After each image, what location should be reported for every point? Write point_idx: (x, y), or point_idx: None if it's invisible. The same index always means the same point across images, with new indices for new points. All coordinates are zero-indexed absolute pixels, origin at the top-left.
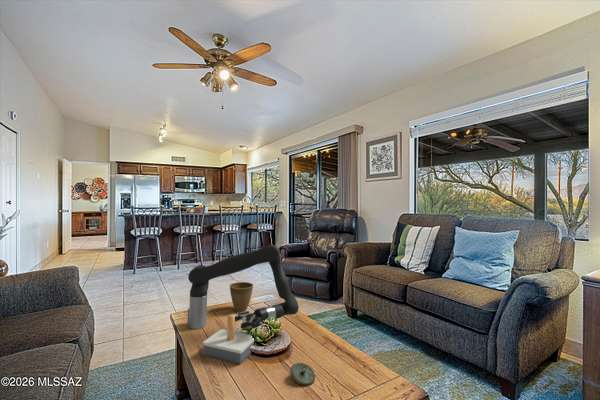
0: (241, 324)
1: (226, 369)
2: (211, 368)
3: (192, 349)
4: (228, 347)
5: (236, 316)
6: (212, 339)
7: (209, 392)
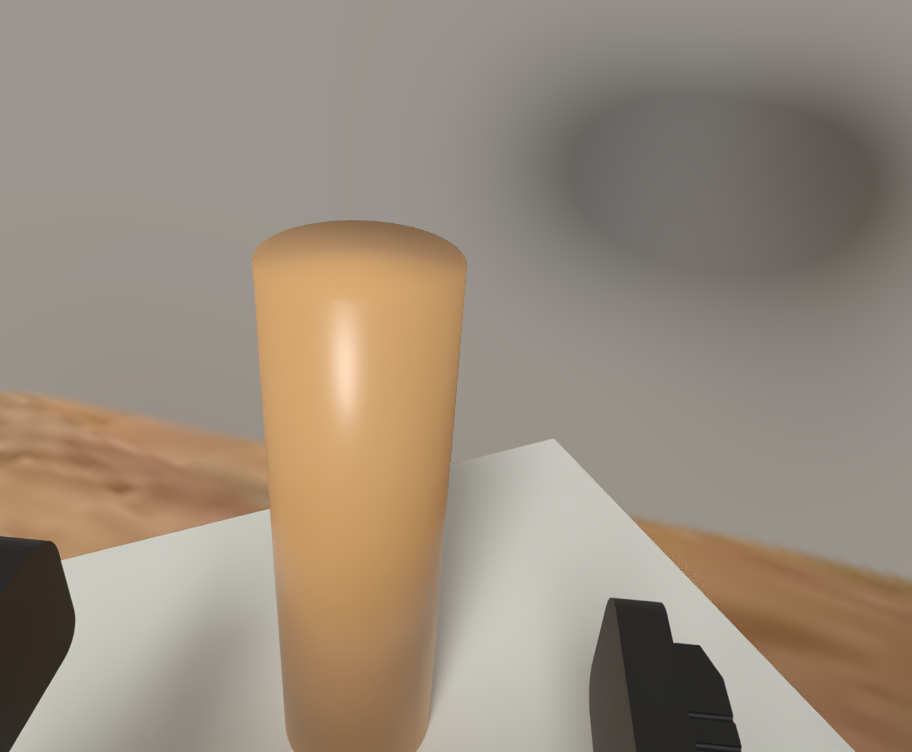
0: (27, 543)
1: None
2: None
3: (735, 565)
4: (156, 547)
5: (673, 736)
6: (554, 529)
7: (5, 397)
